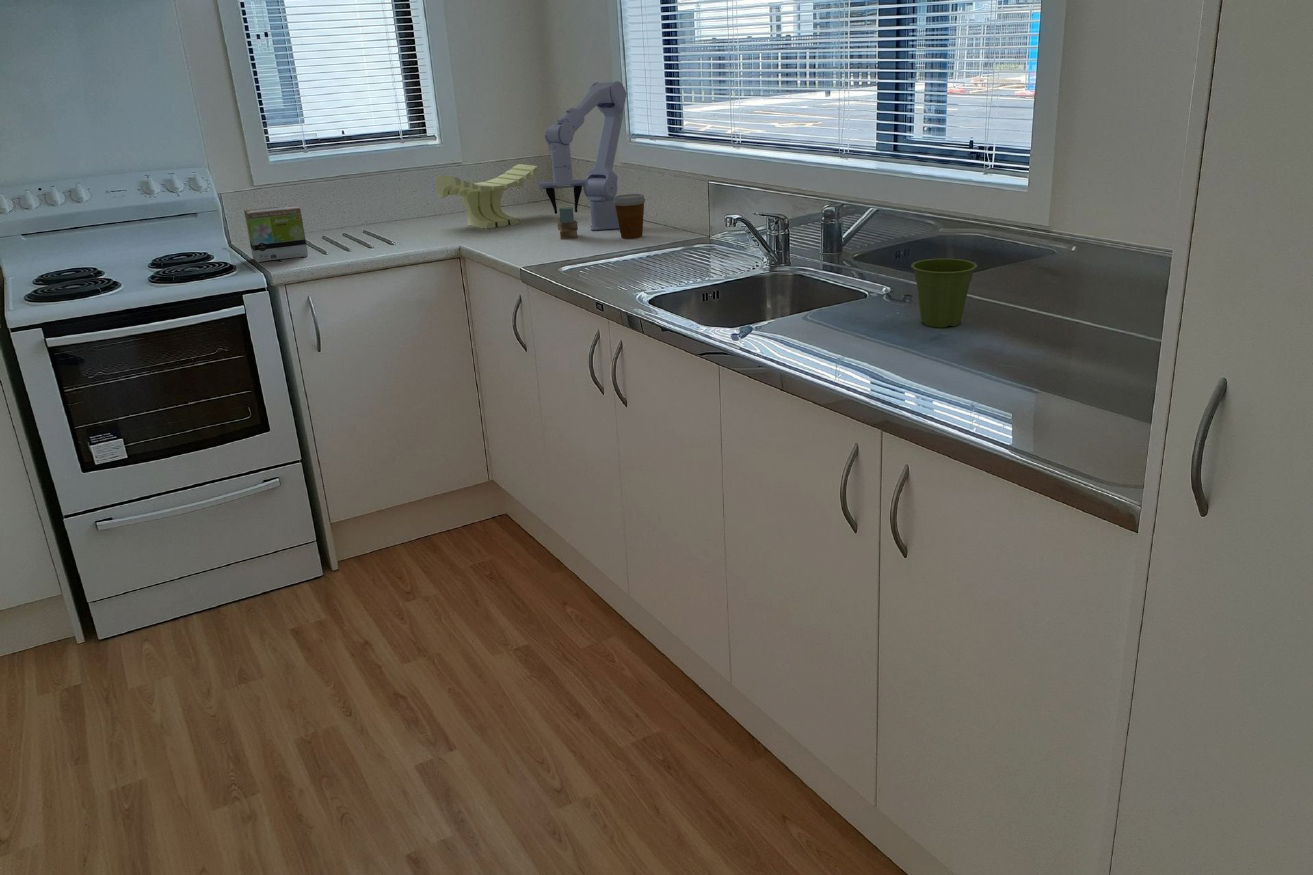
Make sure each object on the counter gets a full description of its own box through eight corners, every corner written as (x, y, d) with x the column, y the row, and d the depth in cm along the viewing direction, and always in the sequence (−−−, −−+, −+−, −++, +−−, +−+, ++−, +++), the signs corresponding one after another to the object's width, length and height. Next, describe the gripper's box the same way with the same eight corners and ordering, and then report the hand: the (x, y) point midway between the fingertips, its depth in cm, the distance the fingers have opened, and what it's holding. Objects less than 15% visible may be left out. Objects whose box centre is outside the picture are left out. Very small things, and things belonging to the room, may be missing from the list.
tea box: (257, 263, 299) (246, 213, 294) (252, 258, 308) (242, 209, 302) (309, 256, 305) (300, 206, 300) (303, 251, 314) (294, 203, 308)
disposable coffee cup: (610, 240, 300) (607, 198, 295) (623, 234, 308) (620, 193, 303) (640, 240, 296) (637, 198, 292) (652, 234, 304) (650, 193, 300)
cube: (573, 220, 308) (572, 206, 307) (573, 222, 305) (572, 208, 303) (560, 221, 308) (559, 207, 307) (560, 223, 305) (559, 209, 303)
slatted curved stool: (520, 215, 357) (514, 163, 350) (542, 219, 344) (537, 166, 338) (441, 228, 341) (434, 174, 335) (462, 233, 329) (454, 176, 322)
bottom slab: (577, 236, 311) (576, 227, 310) (577, 238, 306) (576, 230, 306) (561, 237, 311) (560, 229, 310) (560, 240, 306) (560, 231, 305)
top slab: (573, 227, 311) (573, 219, 310) (577, 230, 306) (577, 221, 305) (558, 229, 309) (557, 221, 308) (561, 231, 305) (561, 223, 304)
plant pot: (911, 332, 188) (913, 272, 184) (907, 316, 199) (909, 259, 195) (977, 331, 186) (981, 270, 182) (970, 315, 197) (973, 257, 193)
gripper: (536, 169, 297) (541, 216, 302) (586, 166, 298) (590, 212, 302) (537, 167, 303) (542, 212, 308) (586, 163, 304) (590, 209, 309)
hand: (566, 212), depth 306 cm, fingers open, 5 cm apart
